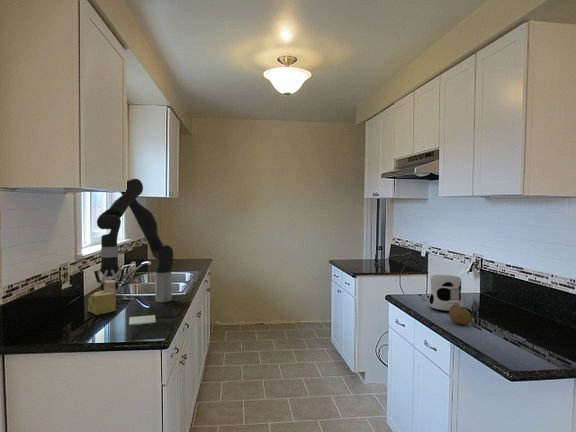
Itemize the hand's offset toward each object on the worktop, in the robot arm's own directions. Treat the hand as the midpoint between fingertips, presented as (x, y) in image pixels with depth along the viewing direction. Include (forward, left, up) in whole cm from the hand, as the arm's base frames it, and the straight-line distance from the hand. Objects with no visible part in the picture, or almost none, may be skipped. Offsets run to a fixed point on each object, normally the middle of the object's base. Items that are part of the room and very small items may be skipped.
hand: (109, 290), depth 193 cm
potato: (+63, +159, -15) cm, 172 cm away
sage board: (+5, +15, -15) cm, 22 cm away
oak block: (0, 0, -1) cm, 1 cm away
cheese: (-20, -5, -15) cm, 26 cm away
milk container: (+40, +171, -15) cm, 176 cm away
